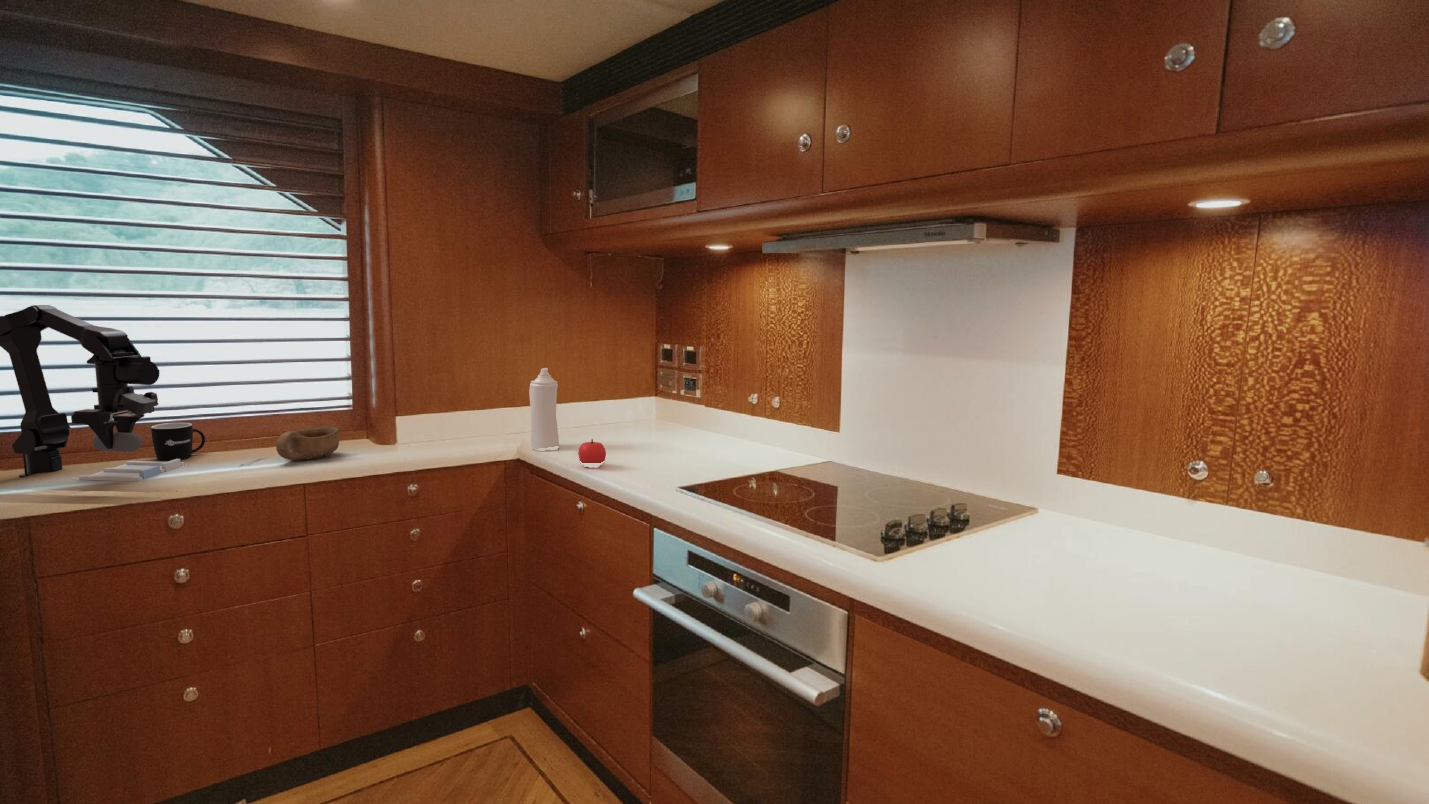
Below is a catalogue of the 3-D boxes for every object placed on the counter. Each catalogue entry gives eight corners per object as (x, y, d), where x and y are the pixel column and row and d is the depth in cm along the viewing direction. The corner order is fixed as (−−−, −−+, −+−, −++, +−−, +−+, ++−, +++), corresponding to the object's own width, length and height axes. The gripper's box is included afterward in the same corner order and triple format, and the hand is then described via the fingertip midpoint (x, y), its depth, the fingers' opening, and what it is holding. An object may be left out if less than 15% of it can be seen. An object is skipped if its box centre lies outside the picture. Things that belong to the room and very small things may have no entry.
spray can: (518, 447, 229) (518, 368, 226) (542, 442, 239) (542, 366, 235) (546, 452, 224) (546, 371, 220) (569, 446, 233) (569, 368, 229)
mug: (161, 467, 192) (158, 429, 191) (148, 462, 197) (145, 425, 196) (213, 460, 202) (210, 424, 200) (199, 455, 207) (196, 419, 206)
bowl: (319, 462, 198) (307, 427, 196) (271, 474, 199) (259, 439, 197) (354, 447, 215) (343, 415, 214) (309, 459, 216) (298, 426, 215)
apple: (608, 463, 212) (608, 436, 211) (603, 470, 204) (603, 442, 203) (580, 463, 212) (581, 435, 211) (575, 469, 204) (575, 441, 203)
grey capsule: (88, 452, 176) (86, 433, 175) (103, 448, 180) (101, 430, 179) (133, 453, 176) (132, 435, 175) (147, 449, 181) (146, 431, 180)
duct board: (75, 484, 175) (73, 471, 174) (125, 468, 190) (124, 456, 190) (144, 485, 175) (143, 472, 175) (189, 469, 191) (188, 457, 191)
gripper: (116, 389, 167) (122, 456, 169) (173, 379, 185) (178, 439, 187) (66, 387, 166) (72, 454, 169) (128, 378, 185) (133, 438, 187)
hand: (117, 446), depth 178 cm, fingers closed on grey capsule, 5 cm apart
